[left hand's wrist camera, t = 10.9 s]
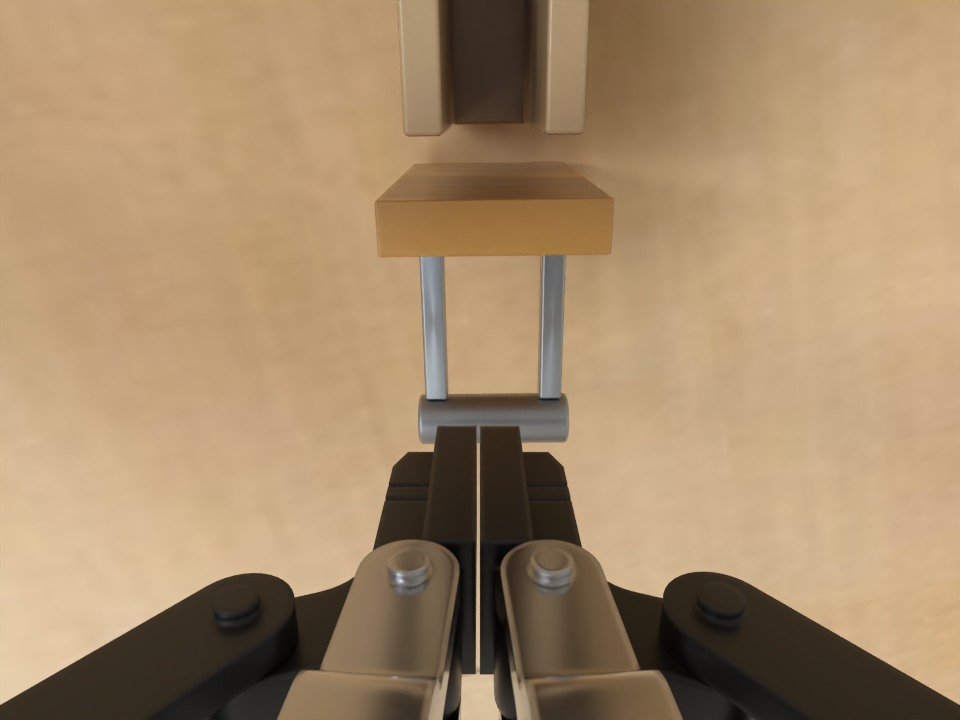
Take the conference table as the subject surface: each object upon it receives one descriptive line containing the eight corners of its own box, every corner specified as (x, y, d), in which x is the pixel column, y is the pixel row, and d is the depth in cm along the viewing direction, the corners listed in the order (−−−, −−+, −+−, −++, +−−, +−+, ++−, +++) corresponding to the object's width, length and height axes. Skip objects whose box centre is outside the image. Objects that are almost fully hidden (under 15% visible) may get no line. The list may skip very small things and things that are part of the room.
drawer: (557, 360, 25) (597, 492, 17) (422, 362, 25) (393, 494, 17) (580, -371, 18) (673, -801, 9) (390, -368, 18) (307, -795, 9)
